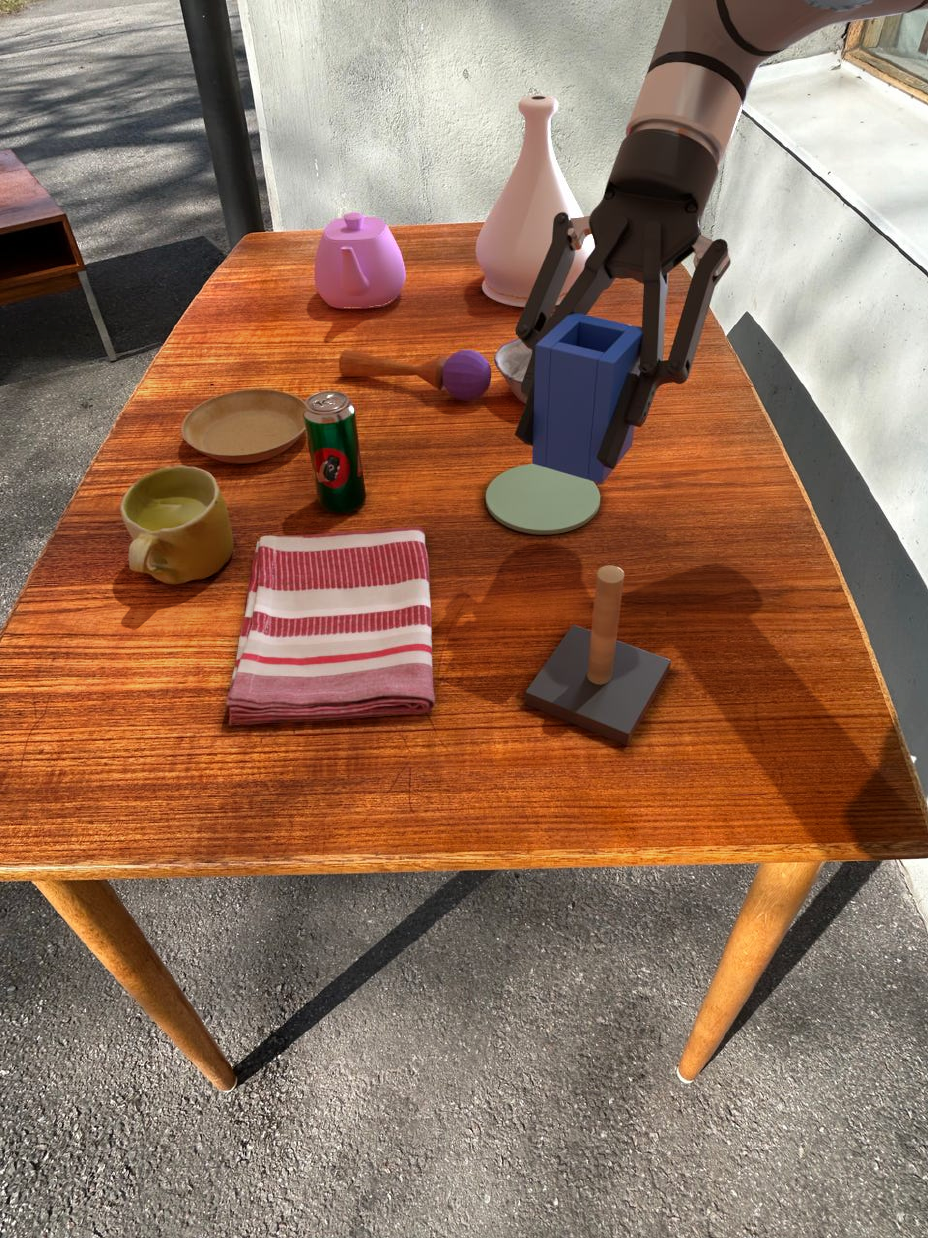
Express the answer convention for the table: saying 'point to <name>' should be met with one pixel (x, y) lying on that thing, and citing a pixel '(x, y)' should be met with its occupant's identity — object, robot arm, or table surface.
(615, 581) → the dowel stand
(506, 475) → the coaster
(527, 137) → the vase
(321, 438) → the soda can
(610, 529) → the table surface
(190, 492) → the mug
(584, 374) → the sleeve
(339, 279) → the teapot
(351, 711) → the dish towel
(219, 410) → the plant saucer
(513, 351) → the bowl
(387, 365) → the purple maraca
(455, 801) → the table surface
